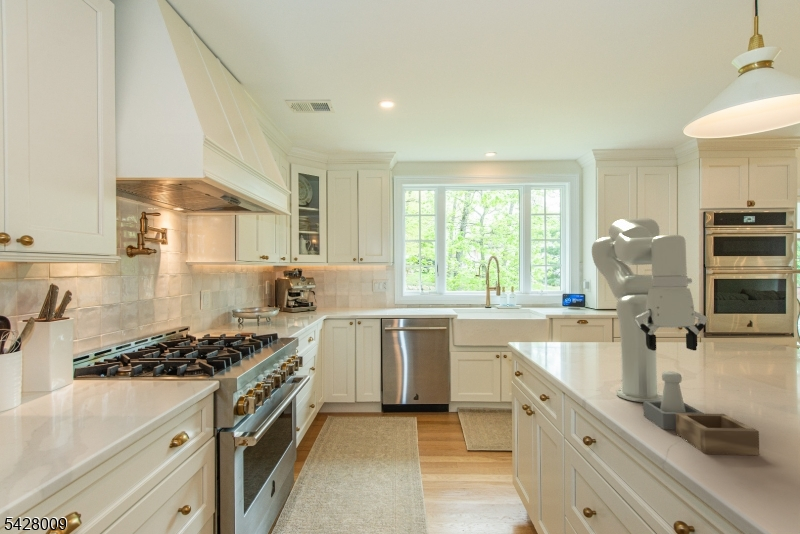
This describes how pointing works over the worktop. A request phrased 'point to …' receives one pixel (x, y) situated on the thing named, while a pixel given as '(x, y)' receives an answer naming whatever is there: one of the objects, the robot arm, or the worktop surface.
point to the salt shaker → (672, 393)
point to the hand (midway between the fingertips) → (671, 349)
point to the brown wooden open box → (717, 434)
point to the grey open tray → (663, 414)
